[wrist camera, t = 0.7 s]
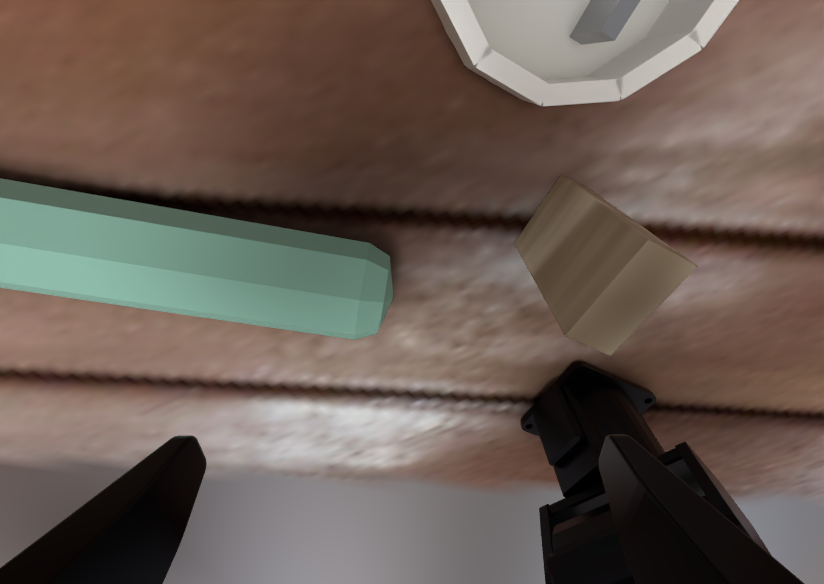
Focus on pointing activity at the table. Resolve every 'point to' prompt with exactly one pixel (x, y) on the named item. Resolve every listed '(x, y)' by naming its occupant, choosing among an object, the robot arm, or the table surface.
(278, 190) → the table surface
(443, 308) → the table surface
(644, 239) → the beige long wooden block
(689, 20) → the white round dish
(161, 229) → the mint green faceted bar
